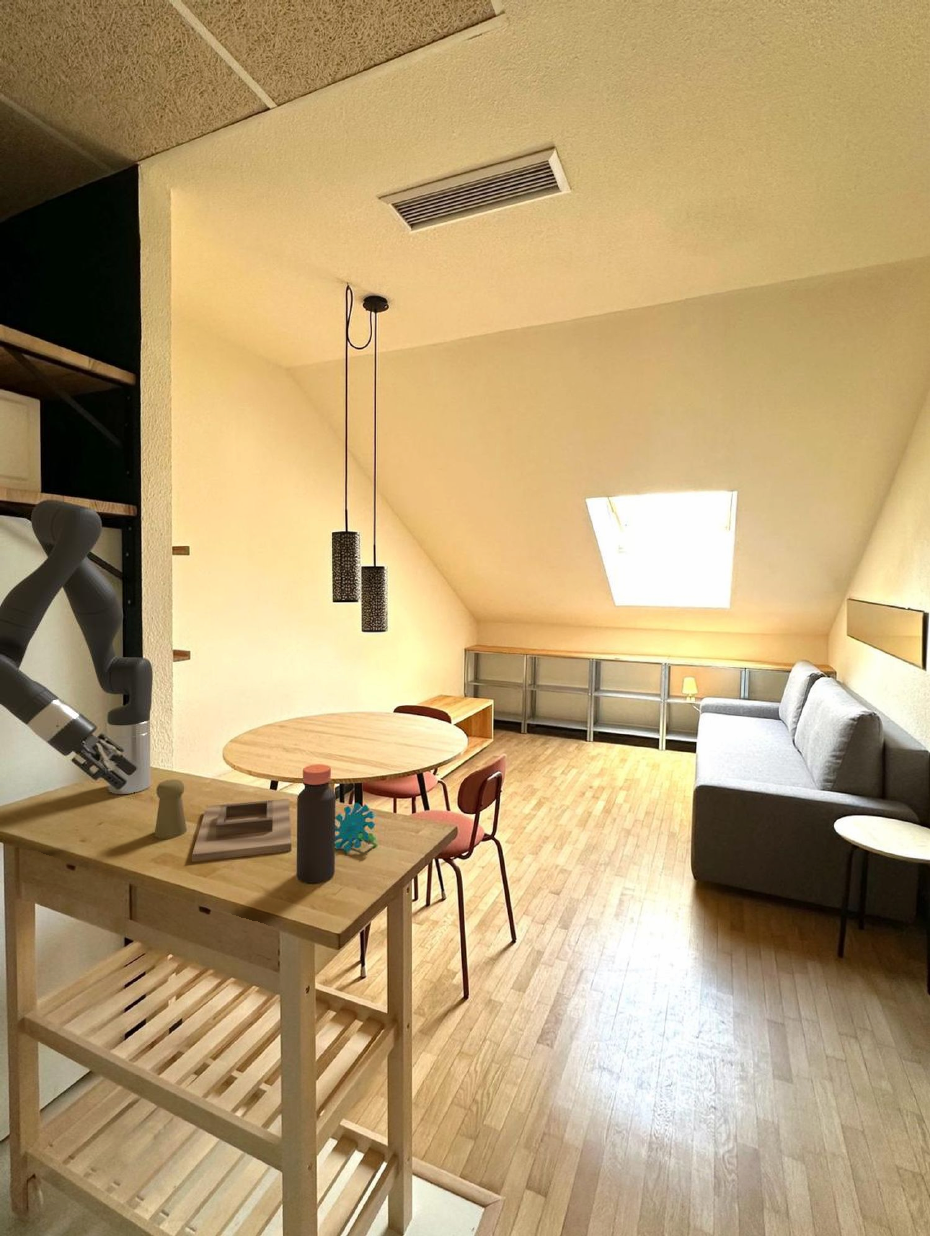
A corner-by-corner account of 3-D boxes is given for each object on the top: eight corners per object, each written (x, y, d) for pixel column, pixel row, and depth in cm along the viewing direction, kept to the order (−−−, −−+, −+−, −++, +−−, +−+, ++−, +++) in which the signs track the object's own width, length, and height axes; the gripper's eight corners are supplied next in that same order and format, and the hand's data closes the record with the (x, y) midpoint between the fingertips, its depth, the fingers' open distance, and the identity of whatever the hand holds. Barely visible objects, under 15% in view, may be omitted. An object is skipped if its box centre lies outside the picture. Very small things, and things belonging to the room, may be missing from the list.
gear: (319, 835, 117) (350, 794, 122) (334, 847, 121) (363, 806, 125) (352, 860, 110) (384, 816, 114) (367, 872, 114) (397, 828, 118)
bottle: (290, 872, 105) (291, 766, 104) (325, 862, 109) (326, 760, 108) (305, 889, 100) (306, 777, 99) (340, 877, 104) (342, 770, 103)
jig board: (206, 812, 131) (206, 795, 130) (288, 804, 136) (288, 788, 136) (192, 862, 108) (192, 841, 108) (291, 850, 114) (291, 831, 114)
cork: (175, 823, 124) (175, 774, 124) (192, 830, 121) (192, 780, 121) (148, 834, 119) (148, 782, 119) (165, 841, 116) (165, 788, 116)
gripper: (65, 721, 107) (135, 776, 111) (89, 705, 120) (150, 755, 124) (32, 751, 105) (104, 805, 110) (60, 731, 119) (123, 780, 123)
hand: (128, 778), depth 117 cm, fingers open, 8 cm apart
